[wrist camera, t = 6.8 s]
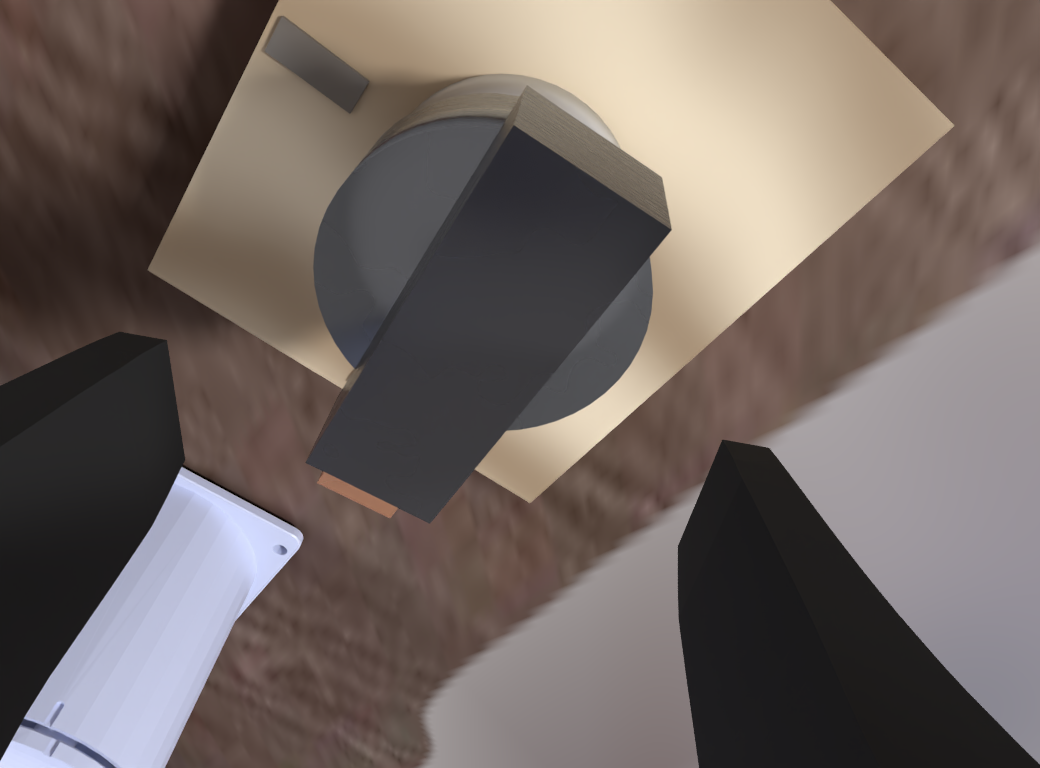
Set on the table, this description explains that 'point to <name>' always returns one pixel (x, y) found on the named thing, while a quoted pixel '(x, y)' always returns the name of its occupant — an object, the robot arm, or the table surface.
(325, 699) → the table surface
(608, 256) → the rotary knob
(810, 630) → the robot arm
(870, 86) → the cream base plate
